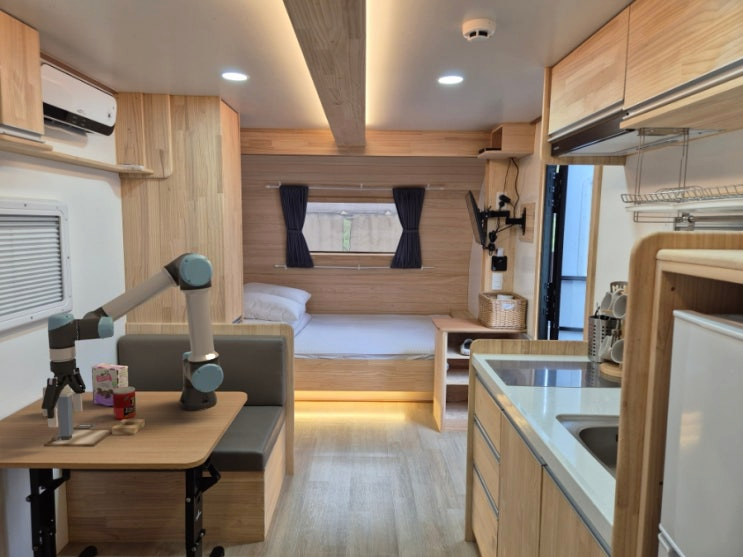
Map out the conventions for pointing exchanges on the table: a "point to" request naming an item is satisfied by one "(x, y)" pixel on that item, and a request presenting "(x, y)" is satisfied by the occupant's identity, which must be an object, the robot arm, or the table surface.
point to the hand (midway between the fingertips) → (66, 418)
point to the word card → (83, 426)
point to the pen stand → (128, 427)
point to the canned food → (124, 403)
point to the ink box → (66, 389)
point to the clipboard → (81, 438)
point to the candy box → (107, 382)
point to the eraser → (65, 415)
